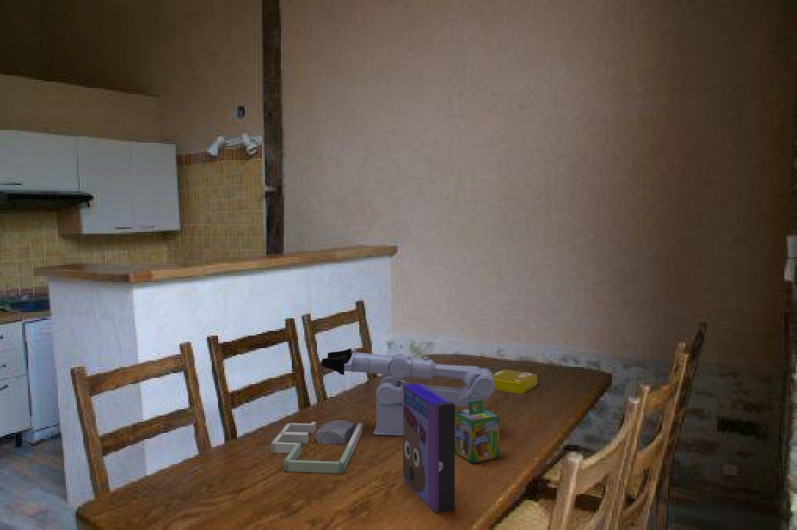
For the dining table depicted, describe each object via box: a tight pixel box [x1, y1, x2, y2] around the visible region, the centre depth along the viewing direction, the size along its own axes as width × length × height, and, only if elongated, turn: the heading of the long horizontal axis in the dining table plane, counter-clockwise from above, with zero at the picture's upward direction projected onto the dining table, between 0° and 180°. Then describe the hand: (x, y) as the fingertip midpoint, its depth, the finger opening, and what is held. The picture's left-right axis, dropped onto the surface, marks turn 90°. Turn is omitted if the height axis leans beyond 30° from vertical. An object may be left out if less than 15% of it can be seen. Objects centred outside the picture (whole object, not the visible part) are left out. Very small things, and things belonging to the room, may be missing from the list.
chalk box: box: [455, 400, 501, 464], centre depth 163 cm, size 9×9×15 cm
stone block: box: [314, 419, 356, 446], centre depth 177 cm, size 12×5×10 cm
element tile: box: [493, 369, 538, 394], centre depth 228 cm, size 15×15×5 cm
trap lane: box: [270, 421, 363, 474], centre depth 168 cm, size 22×30×2 cm
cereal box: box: [402, 383, 456, 514], centre depth 140 cm, size 17×5×24 cm, turn 23°
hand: (324, 359), depth 182 cm, fingers open, 7 cm apart
